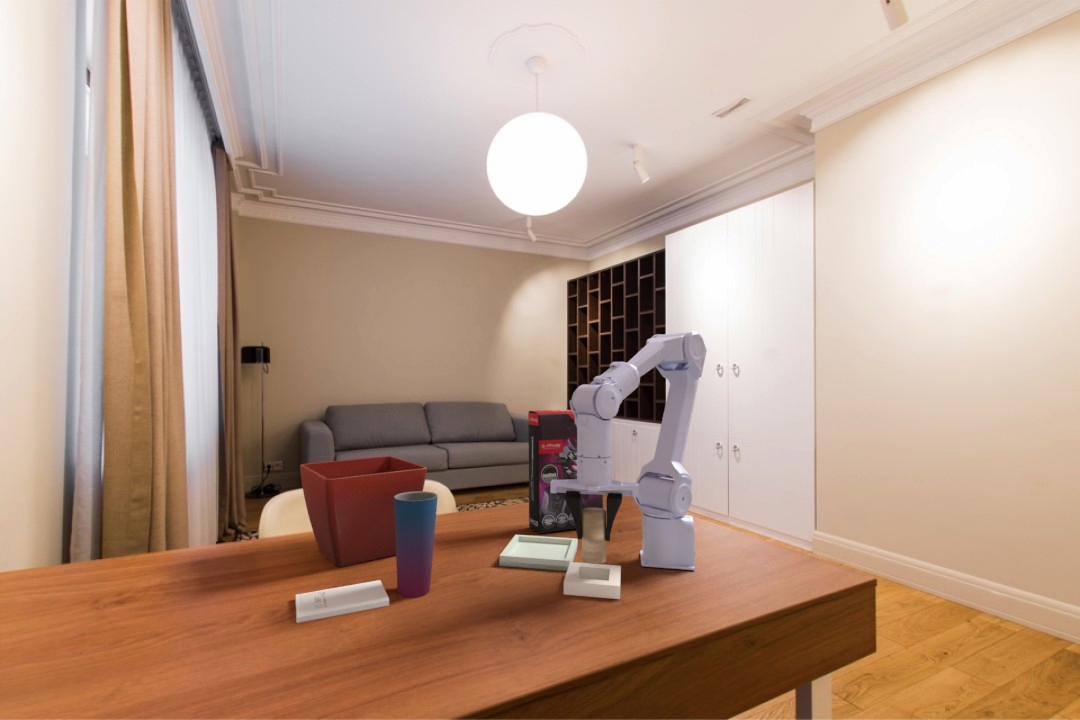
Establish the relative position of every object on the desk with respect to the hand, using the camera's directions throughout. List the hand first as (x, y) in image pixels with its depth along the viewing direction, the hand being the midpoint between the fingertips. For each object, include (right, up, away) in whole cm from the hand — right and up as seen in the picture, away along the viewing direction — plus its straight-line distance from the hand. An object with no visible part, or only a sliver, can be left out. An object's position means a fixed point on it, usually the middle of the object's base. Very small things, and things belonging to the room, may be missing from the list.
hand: (593, 538), depth 82 cm
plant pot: (-44, -8, +15) cm, 47 cm away
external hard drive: (-39, -8, -8) cm, 40 cm away
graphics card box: (-3, -10, +33) cm, 35 cm away
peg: (0, -3, 0) cm, 3 cm away
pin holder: (0, -8, 0) cm, 8 cm away
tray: (-9, -8, +13) cm, 18 cm away
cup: (-29, -7, -3) cm, 30 cm away
